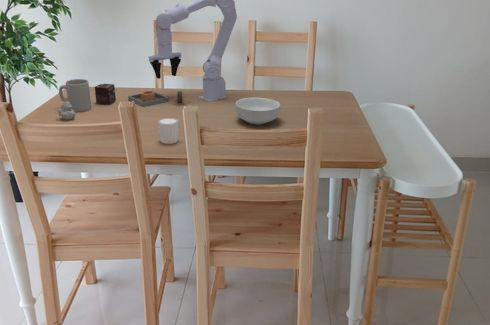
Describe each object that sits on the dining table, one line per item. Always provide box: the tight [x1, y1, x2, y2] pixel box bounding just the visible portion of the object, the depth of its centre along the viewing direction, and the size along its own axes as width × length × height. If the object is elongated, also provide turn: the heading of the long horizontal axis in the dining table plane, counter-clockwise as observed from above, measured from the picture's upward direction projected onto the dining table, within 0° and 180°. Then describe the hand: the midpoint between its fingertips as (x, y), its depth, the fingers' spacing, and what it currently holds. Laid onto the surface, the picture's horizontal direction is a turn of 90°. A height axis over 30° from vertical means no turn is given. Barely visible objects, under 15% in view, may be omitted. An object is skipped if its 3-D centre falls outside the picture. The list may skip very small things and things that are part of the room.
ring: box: [139, 90, 155, 102], centre depth 199 cm, size 8×5×4 cm
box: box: [94, 83, 117, 106], centre depth 196 cm, size 6×6×7 cm
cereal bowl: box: [234, 96, 281, 125], centre depth 179 cm, size 17×17×7 cm
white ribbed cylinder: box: [157, 117, 180, 145], centre depth 158 cm, size 7×7×7 cm
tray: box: [127, 91, 170, 108], centre depth 199 cm, size 12×12×2 cm
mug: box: [58, 78, 92, 113], centre depth 187 cm, size 12×8×11 cm
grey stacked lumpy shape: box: [57, 99, 76, 121], centre depth 176 cm, size 5×7×8 cm
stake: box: [167, 91, 194, 107], centre depth 197 cm, size 8×8×5 cm
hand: (166, 76), depth 199 cm, fingers open, 7 cm apart
